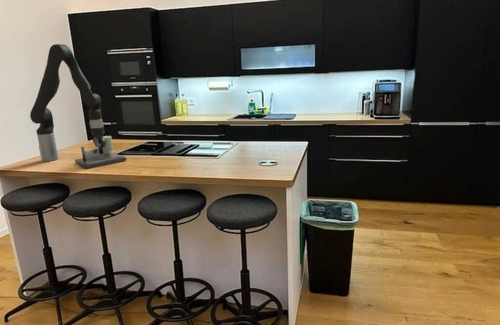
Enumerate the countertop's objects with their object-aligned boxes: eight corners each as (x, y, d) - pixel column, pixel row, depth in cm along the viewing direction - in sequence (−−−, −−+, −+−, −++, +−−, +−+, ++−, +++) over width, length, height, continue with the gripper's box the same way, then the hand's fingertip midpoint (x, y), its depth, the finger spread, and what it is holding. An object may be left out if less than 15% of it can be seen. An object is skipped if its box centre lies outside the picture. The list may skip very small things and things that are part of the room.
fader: (112, 159, 215) (111, 152, 214) (110, 157, 218) (109, 151, 217) (117, 158, 217) (116, 151, 216) (115, 157, 220) (114, 150, 219)
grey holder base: (86, 169, 203) (83, 152, 201) (75, 162, 218) (72, 147, 215) (126, 160, 218) (124, 144, 216) (114, 155, 233) (111, 140, 230)
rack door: (87, 158, 217) (86, 151, 216) (84, 158, 218) (83, 151, 217) (103, 153, 228) (102, 147, 227) (101, 153, 229) (100, 146, 228)
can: (107, 151, 244) (105, 134, 241) (116, 153, 239) (114, 135, 236) (96, 155, 236) (93, 137, 233) (105, 156, 232) (102, 138, 228)
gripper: (85, 126, 220) (90, 153, 224) (96, 128, 212) (101, 156, 216) (97, 125, 226) (101, 151, 230) (108, 126, 217) (112, 153, 222)
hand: (101, 153), depth 223 cm, fingers closed
